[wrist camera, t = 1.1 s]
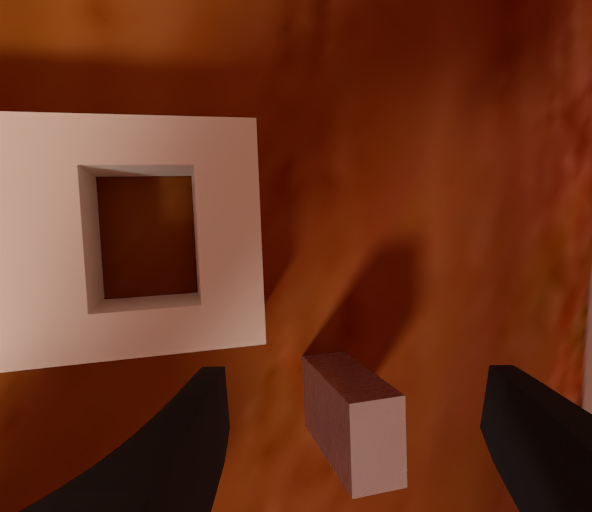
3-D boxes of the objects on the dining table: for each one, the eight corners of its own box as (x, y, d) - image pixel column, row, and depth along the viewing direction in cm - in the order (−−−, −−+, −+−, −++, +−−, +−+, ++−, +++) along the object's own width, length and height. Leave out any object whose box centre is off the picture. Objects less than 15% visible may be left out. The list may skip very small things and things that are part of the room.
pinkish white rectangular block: (346, 418, 25) (407, 487, 19) (304, 425, 25) (352, 499, 18) (344, 351, 25) (405, 395, 18) (302, 356, 24) (349, 404, 18)
